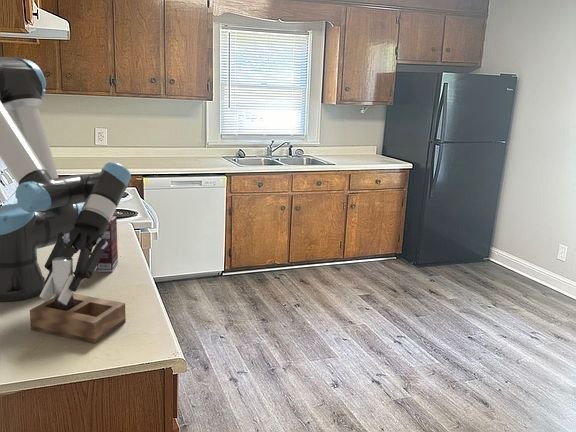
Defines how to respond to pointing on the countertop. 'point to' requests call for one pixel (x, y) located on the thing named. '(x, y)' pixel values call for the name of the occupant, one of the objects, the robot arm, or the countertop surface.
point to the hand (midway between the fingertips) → (52, 300)
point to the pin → (62, 280)
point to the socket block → (79, 318)
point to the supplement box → (109, 248)
